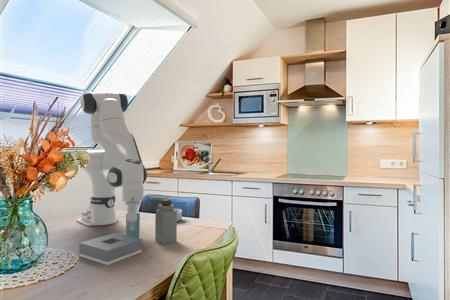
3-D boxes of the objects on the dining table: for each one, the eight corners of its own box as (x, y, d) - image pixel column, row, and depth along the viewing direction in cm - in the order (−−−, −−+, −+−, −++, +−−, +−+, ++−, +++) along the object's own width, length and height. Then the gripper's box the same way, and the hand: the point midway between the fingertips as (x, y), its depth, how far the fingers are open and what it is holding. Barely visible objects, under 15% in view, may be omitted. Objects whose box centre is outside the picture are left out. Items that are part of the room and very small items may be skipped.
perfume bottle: (155, 240, 136) (155, 199, 135) (168, 237, 140) (169, 198, 140) (162, 244, 130) (163, 201, 130) (176, 241, 135) (176, 200, 135)
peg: (125, 241, 134) (126, 213, 134) (133, 238, 137) (133, 212, 137) (132, 242, 132) (132, 214, 132) (139, 240, 135) (139, 213, 135)
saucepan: (182, 214, 187) (182, 205, 187) (182, 223, 167) (182, 212, 167) (163, 215, 186) (163, 206, 186) (160, 223, 166) (160, 213, 166)
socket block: (79, 256, 115) (79, 242, 115) (114, 244, 129) (114, 232, 129) (107, 265, 107) (107, 250, 107) (141, 251, 120) (142, 239, 120)
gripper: (140, 200, 125) (139, 234, 125) (140, 192, 145) (140, 222, 145) (123, 200, 123) (123, 235, 124) (126, 193, 143) (126, 222, 143)
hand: (132, 227), depth 134 cm, fingers closed on peg, 6 cm apart
